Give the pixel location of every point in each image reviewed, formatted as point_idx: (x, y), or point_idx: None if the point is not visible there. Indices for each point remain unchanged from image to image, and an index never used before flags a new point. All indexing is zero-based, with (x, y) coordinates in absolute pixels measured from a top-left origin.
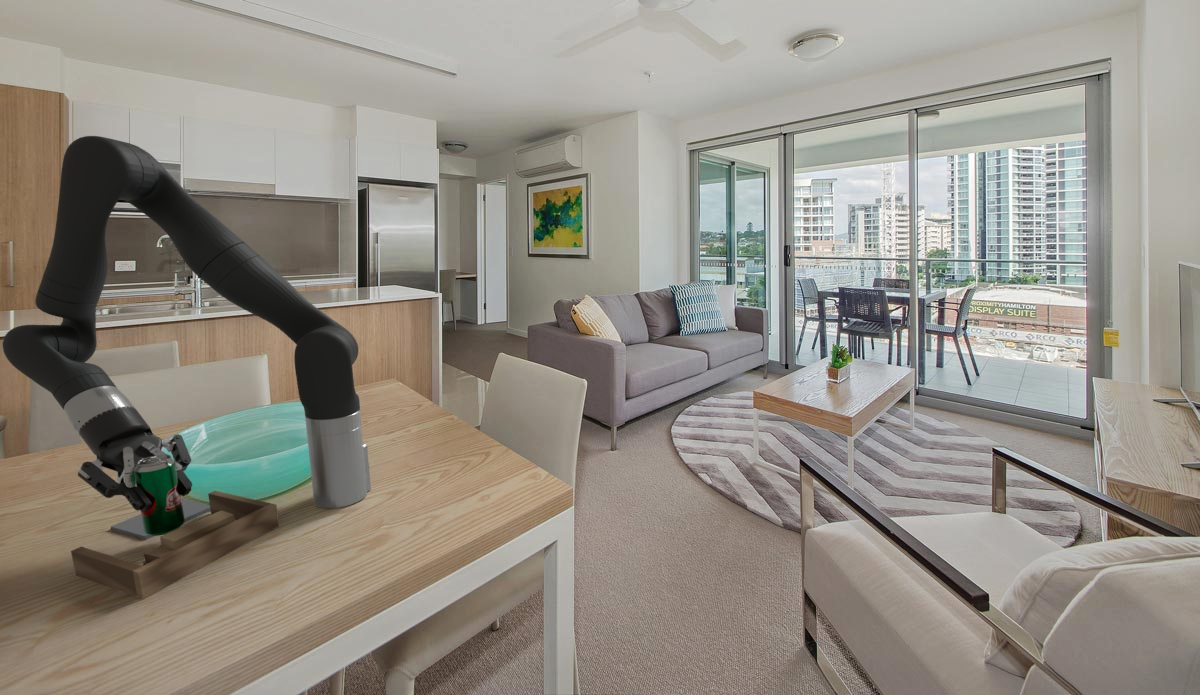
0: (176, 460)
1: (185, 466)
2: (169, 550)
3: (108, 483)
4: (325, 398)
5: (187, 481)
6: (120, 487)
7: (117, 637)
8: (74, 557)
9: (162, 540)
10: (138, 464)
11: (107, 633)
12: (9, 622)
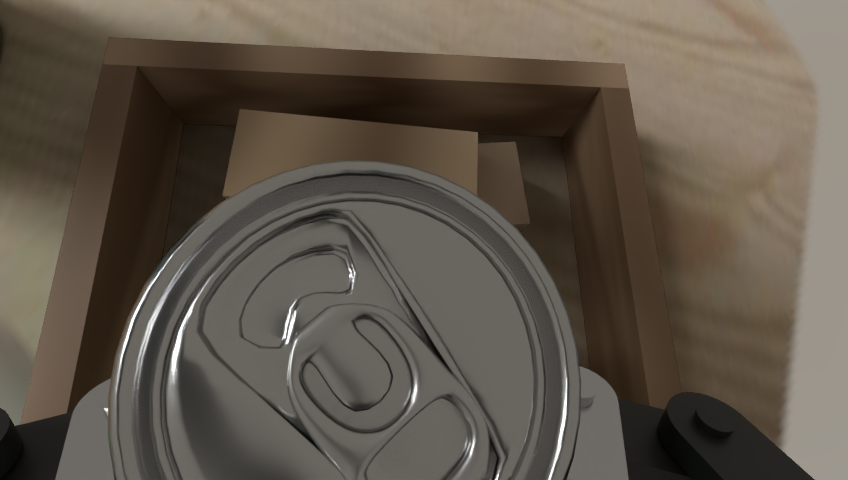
0: None
1: (46, 418)
2: (480, 162)
3: (769, 468)
4: None
5: None
6: (639, 426)
7: (669, 38)
8: None
9: None
10: (526, 464)
11: (675, 69)
12: (794, 334)
